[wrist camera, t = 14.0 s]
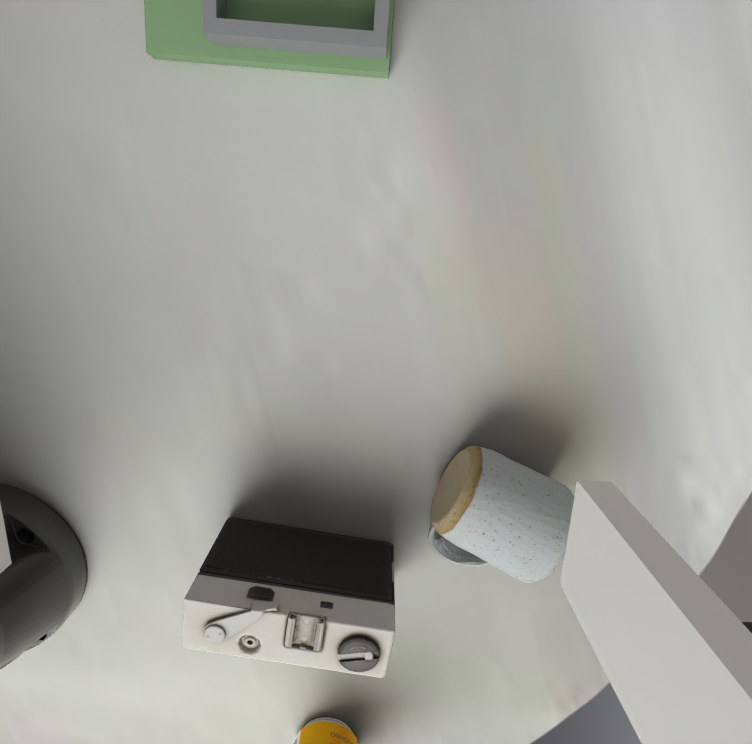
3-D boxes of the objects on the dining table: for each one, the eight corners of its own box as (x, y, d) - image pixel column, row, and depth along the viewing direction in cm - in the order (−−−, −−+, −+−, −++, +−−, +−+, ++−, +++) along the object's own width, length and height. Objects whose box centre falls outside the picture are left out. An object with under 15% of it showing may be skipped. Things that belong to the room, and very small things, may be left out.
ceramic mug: (465, 423, 38) (483, 471, 31) (557, 467, 39) (595, 524, 32) (403, 529, 41) (405, 596, 34) (489, 567, 42) (510, 641, 35)
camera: (219, 594, 43) (171, 698, 34) (227, 512, 41) (179, 598, 31) (377, 619, 44) (375, 730, 34) (395, 539, 41) (397, 633, 32)
